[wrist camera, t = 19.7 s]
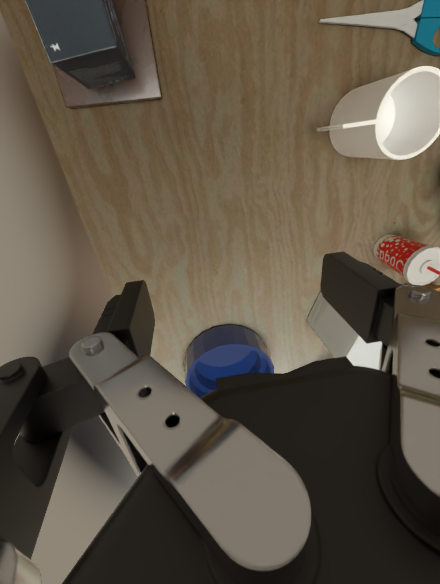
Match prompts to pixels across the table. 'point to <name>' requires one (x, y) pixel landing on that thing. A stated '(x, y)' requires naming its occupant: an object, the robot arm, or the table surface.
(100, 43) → the box
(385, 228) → the table surface
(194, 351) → the bowl
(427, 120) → the cup
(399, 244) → the beverage cup
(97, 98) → the board
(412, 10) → the scissors
